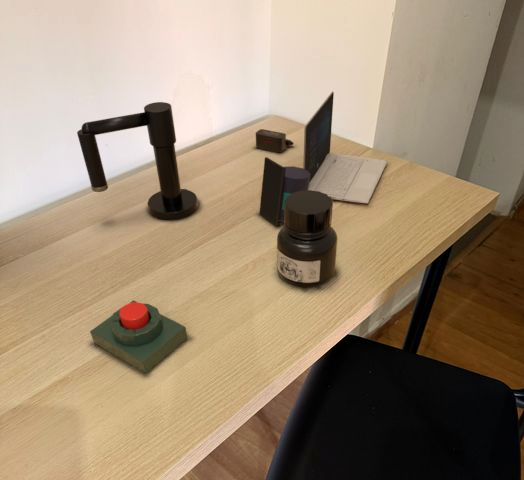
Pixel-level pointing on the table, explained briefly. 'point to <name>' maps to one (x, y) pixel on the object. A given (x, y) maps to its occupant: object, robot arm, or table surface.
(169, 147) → the round black base
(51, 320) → the table surface
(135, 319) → the button
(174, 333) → the control box
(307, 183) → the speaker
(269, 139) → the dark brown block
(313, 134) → the laptop
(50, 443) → the table surface
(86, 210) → the table surface
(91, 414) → the table surface
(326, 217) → the ink bottle
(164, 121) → the crank handle
